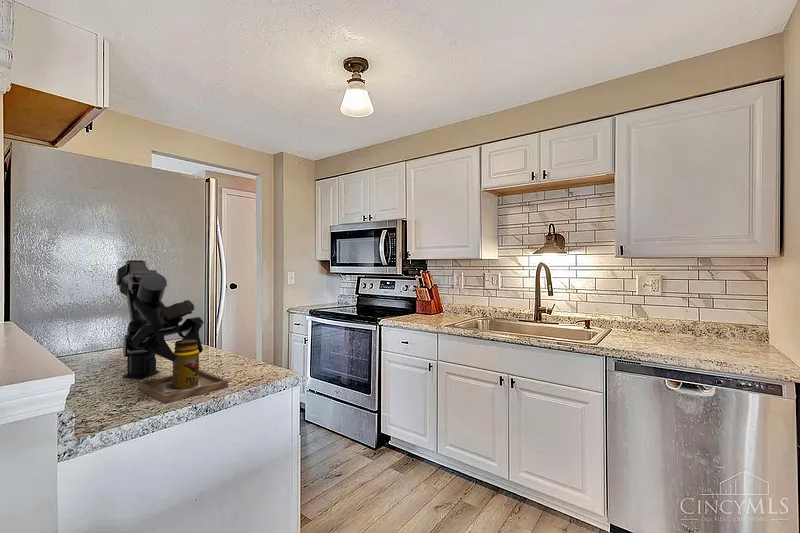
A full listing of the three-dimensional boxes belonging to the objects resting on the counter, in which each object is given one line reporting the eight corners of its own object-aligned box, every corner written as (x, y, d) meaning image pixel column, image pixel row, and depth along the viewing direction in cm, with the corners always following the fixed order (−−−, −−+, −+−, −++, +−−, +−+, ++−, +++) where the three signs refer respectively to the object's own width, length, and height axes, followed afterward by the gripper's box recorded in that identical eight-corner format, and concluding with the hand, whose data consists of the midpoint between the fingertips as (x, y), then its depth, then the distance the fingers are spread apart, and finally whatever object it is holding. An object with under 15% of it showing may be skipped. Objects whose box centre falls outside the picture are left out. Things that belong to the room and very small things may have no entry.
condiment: (201, 388, 101) (202, 342, 101) (163, 393, 97) (163, 345, 97) (198, 380, 107) (199, 337, 107) (162, 385, 103) (163, 340, 103)
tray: (164, 403, 92) (164, 396, 91) (138, 389, 101) (138, 382, 101) (228, 386, 104) (228, 380, 104) (199, 375, 113) (199, 369, 113)
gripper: (140, 293, 94) (178, 342, 91) (198, 288, 112) (231, 329, 110) (114, 324, 96) (151, 373, 93) (175, 314, 114) (207, 355, 112)
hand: (188, 355), depth 102 cm, fingers open, 9 cm apart
